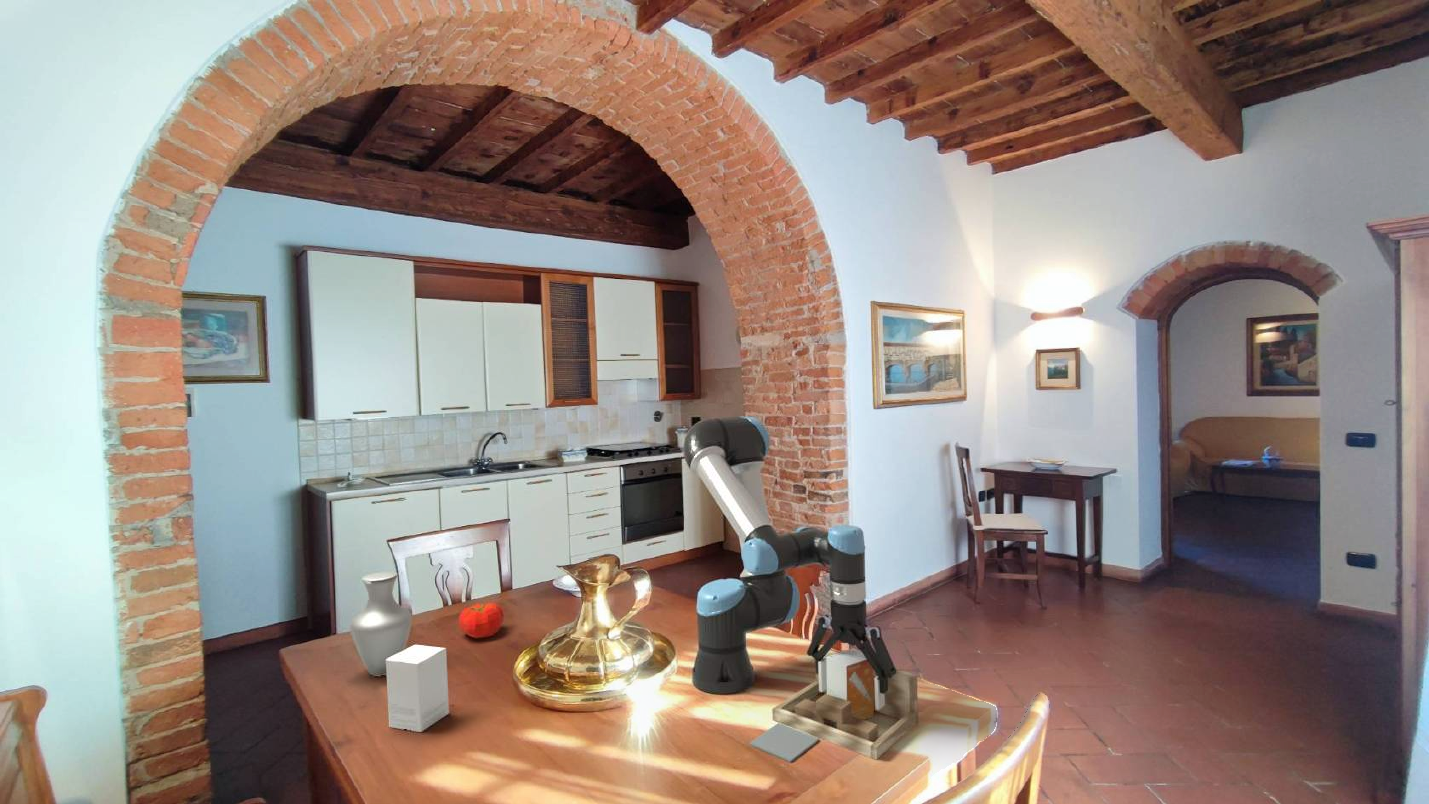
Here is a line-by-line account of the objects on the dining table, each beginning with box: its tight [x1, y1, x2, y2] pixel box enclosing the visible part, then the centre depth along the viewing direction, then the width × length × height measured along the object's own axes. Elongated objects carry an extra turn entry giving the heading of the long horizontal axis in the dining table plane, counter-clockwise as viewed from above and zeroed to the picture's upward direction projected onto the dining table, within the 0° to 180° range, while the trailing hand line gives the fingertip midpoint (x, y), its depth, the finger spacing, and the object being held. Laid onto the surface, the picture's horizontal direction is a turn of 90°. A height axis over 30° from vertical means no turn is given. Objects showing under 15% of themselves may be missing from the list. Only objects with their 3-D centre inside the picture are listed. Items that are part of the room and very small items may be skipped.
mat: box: [748, 722, 820, 763], centre depth 134 cm, size 10×10×1 cm
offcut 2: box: [815, 694, 852, 724], centre depth 138 cm, size 6×4×3 cm, turn 51°
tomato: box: [458, 602, 504, 639], centre depth 197 cm, size 14×13×9 cm
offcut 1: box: [794, 699, 835, 727], centre depth 142 cm, size 7×4×4 cm, turn 50°
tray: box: [771, 647, 919, 761], centre depth 142 cm, size 24×18×10 cm
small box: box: [826, 647, 875, 721], centre depth 144 cm, size 8×6×13 cm
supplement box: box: [386, 644, 450, 733], centre depth 147 cm, size 9×9×15 cm
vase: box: [349, 571, 413, 675], centre depth 173 cm, size 14×14×25 cm
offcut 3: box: [836, 716, 879, 743], centre depth 134 cm, size 7×4×4 cm, turn 50°
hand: (851, 698), depth 143 cm, fingers open, 13 cm apart
